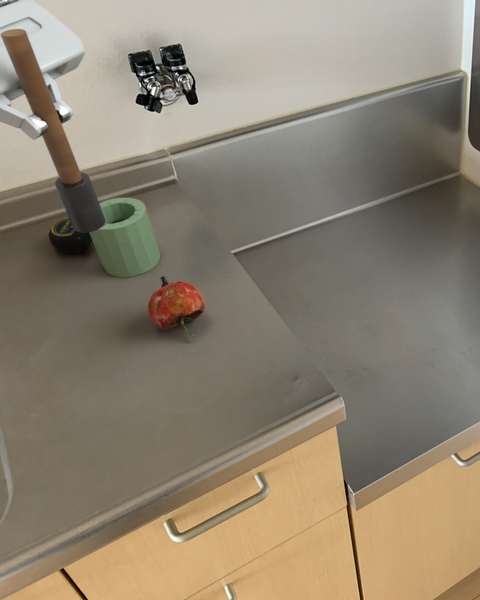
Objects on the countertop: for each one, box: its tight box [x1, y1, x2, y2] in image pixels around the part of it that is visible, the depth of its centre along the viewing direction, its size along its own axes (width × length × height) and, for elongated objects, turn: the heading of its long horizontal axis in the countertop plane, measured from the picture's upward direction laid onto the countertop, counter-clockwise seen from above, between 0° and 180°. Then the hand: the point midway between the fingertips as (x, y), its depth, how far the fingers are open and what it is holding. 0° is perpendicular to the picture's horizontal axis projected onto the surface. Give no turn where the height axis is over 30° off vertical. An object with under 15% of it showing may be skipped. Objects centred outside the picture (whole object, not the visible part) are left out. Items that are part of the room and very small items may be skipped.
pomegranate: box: [147, 275, 206, 343], centre depth 84 cm, size 7×7×10 cm
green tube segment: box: [89, 197, 161, 278], centre depth 95 cm, size 9×9×9 cm
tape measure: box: [48, 217, 93, 255], centre depth 99 cm, size 7×7×4 cm
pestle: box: [1, 29, 105, 233], centre depth 65 cm, size 4×4×22 cm
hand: (54, 126), depth 64 cm, fingers closed on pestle, 2 cm apart
